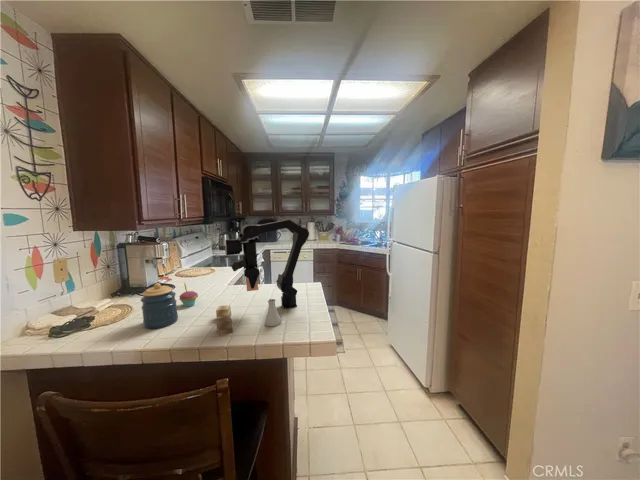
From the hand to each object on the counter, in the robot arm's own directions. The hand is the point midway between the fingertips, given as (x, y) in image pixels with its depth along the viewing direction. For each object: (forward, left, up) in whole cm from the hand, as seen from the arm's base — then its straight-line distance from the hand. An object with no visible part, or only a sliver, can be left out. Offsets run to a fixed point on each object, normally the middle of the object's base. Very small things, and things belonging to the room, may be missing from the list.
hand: (252, 286), depth 121 cm
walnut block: (+12, +15, -13) cm, 23 cm away
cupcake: (+31, -23, -13) cm, 41 cm away
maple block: (+13, +1, -13) cm, 18 cm away
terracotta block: (0, 0, -1) cm, 1 cm away
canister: (+39, -4, -13) cm, 41 cm away
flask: (-7, +14, -13) cm, 20 cm away
